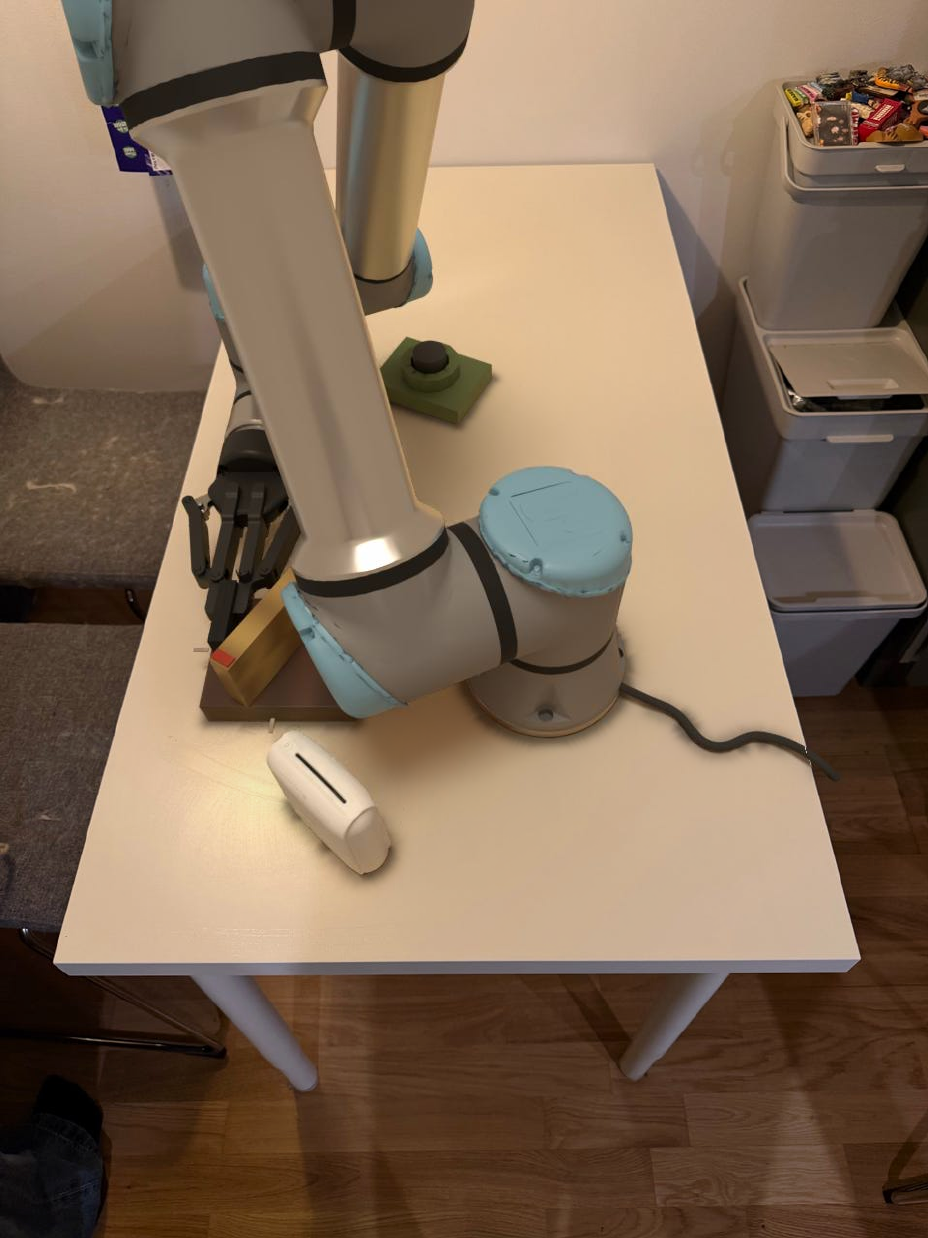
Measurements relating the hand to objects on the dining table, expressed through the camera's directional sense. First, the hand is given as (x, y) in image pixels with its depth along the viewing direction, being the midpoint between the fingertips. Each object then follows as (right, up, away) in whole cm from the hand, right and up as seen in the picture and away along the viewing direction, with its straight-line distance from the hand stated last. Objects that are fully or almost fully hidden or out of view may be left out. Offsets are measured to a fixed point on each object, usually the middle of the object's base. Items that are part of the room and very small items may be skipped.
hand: (219, 649), depth 73 cm
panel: (+4, -2, +9) cm, 10 cm away
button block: (+18, +31, +29) cm, 46 cm away
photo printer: (+11, -16, 0) cm, 19 cm away
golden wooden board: (+4, 0, +6) cm, 7 cm away
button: (+17, +33, +26) cm, 46 cm away
